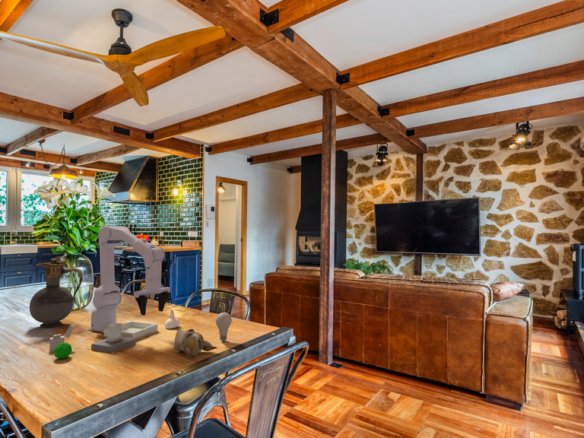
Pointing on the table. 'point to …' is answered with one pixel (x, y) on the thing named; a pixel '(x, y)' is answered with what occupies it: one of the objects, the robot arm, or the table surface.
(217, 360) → the table surface
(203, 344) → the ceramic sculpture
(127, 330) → the tray
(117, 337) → the pin
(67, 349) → the polyhedron
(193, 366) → the table surface
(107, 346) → the collar
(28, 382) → the table surface
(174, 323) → the garlic bulb
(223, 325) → the lightbulb
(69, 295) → the pitcher
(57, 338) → the lighter
